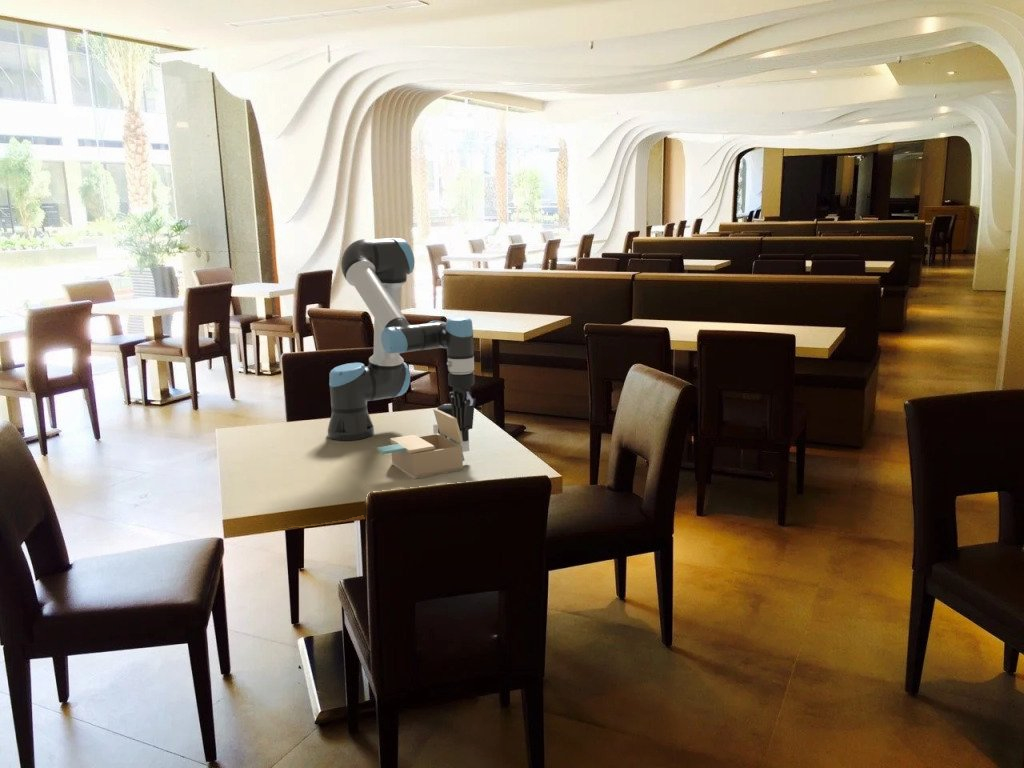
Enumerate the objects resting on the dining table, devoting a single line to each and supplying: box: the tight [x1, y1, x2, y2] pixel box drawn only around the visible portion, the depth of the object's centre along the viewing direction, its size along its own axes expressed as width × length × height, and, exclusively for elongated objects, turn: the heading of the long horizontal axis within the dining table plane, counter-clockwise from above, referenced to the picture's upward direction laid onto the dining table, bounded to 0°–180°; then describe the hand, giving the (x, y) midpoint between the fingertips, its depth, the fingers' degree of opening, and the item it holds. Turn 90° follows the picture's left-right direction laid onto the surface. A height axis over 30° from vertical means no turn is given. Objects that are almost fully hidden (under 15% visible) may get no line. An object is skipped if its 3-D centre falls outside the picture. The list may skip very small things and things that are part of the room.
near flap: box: [376, 434, 435, 456], centre depth 232 cm, size 14×14×1 cm
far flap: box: [432, 408, 466, 462], centre depth 239 cm, size 14×14×1 cm
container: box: [432, 403, 453, 439], centre depth 257 cm, size 8×8×13 cm
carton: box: [390, 433, 464, 480], centre depth 236 cm, size 17×15×7 cm
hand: (463, 450), depth 240 cm, fingers closed
